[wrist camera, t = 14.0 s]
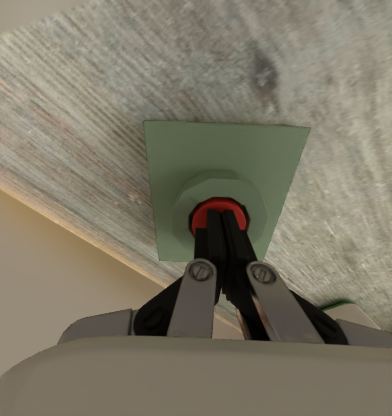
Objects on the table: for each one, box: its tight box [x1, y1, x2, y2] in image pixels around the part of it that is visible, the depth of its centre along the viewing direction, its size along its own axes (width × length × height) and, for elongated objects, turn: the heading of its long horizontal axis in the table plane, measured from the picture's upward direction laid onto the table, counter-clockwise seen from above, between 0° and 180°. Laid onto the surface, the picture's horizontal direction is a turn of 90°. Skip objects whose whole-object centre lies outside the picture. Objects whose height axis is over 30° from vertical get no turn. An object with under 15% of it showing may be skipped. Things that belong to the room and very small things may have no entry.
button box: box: [143, 120, 311, 262], centre depth 12 cm, size 12×10×4 cm
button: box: [192, 197, 246, 233], centre depth 11 cm, size 4×4×2 cm
